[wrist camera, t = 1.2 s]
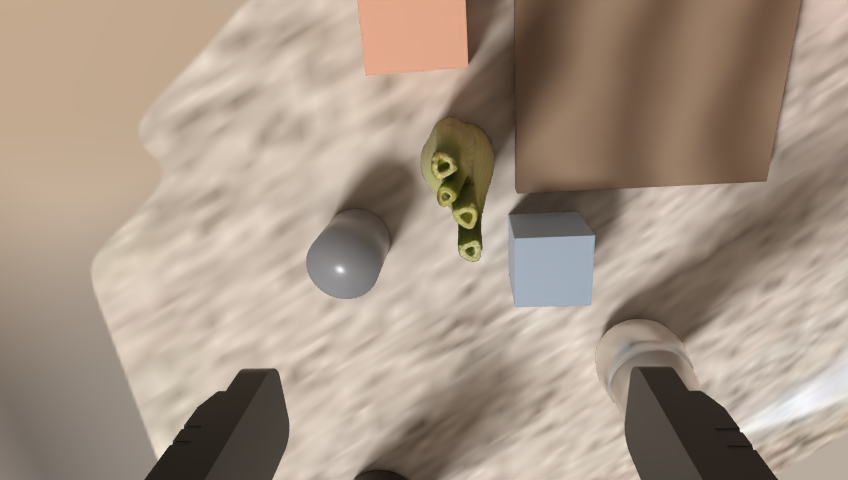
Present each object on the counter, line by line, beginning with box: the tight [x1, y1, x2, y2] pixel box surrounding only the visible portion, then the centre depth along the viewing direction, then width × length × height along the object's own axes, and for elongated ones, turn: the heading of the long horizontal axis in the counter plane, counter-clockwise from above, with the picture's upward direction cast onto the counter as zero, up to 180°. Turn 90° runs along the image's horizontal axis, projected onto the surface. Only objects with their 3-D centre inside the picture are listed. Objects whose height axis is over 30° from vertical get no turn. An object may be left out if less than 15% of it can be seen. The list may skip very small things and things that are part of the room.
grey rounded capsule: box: [306, 209, 390, 299], centre depth 34 cm, size 5×5×5 cm
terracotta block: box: [357, 0, 468, 76], centre depth 29 cm, size 6×4×4 cm, turn 95°
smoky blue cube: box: [508, 211, 595, 307], centre depth 33 cm, size 5×5×5 cm
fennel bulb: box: [421, 117, 494, 262], centre depth 28 cm, size 6×5×12 cm
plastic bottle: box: [595, 319, 706, 421], centre depth 29 cm, size 6×7×20 cm
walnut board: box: [514, 0, 801, 194], centre depth 30 cm, size 16×13×2 cm
